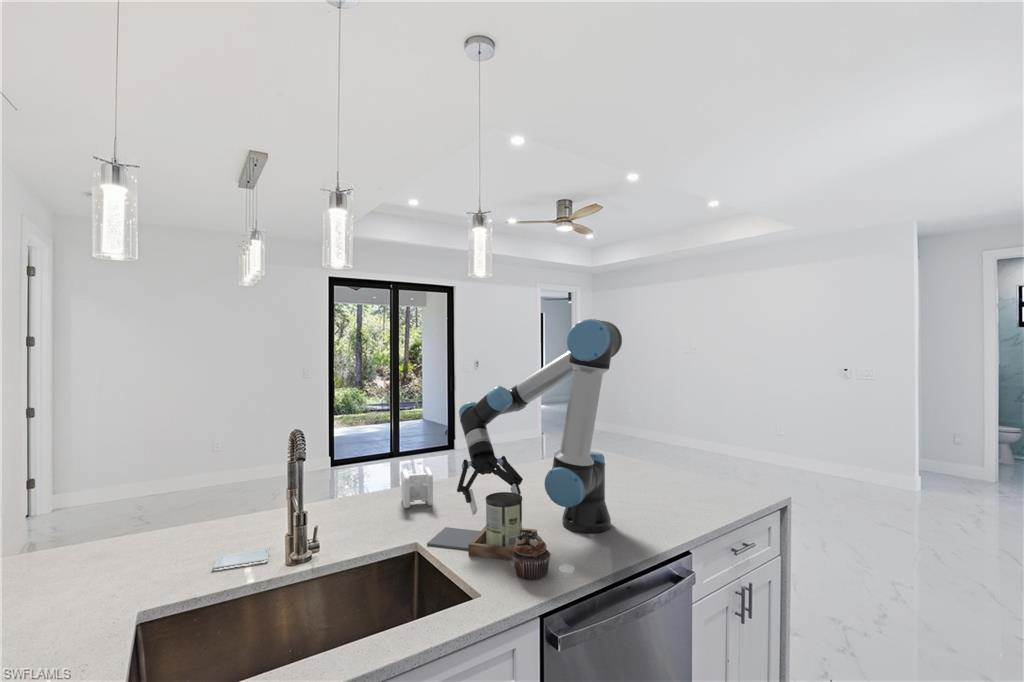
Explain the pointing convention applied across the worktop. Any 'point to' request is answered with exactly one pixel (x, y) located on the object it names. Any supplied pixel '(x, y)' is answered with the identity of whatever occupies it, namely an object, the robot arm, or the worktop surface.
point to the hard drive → (241, 558)
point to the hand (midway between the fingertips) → (497, 509)
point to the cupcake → (530, 556)
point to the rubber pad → (453, 538)
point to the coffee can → (503, 518)
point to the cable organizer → (417, 487)
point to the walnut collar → (490, 547)
